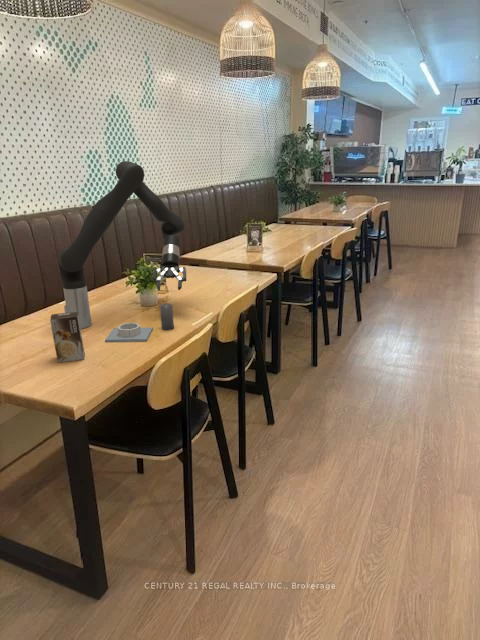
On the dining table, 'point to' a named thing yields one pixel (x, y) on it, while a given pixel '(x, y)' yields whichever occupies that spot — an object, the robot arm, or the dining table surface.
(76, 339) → the coffee box
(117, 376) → the dining table surface
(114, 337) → the grey ring socket base
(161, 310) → the dark grey cylinder
